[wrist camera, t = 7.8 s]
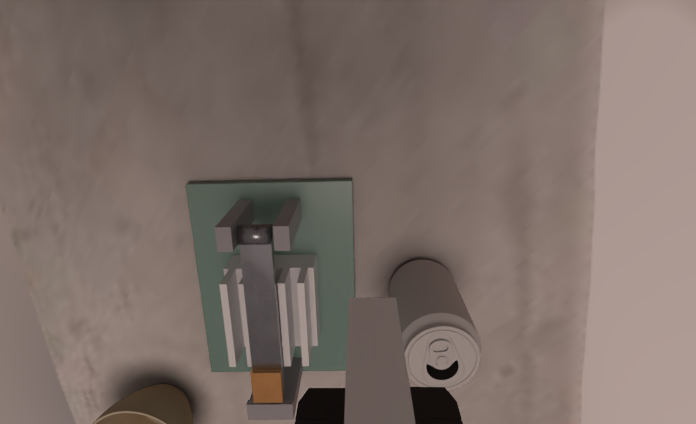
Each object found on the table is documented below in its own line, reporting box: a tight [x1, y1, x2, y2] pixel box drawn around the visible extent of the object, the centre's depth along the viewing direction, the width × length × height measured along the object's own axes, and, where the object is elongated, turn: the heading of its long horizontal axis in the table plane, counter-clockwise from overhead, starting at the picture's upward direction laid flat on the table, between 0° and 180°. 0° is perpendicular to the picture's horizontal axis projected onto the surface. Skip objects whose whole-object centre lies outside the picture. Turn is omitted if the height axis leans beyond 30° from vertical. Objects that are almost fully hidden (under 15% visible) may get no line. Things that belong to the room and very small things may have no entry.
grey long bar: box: [236, 224, 285, 403], centre depth 38 cm, size 16×3×2 cm, turn 1°
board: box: [186, 178, 355, 420], centre depth 41 cm, size 20×15×8 cm
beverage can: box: [389, 260, 481, 391], centre depth 39 cm, size 6×6×12 cm
